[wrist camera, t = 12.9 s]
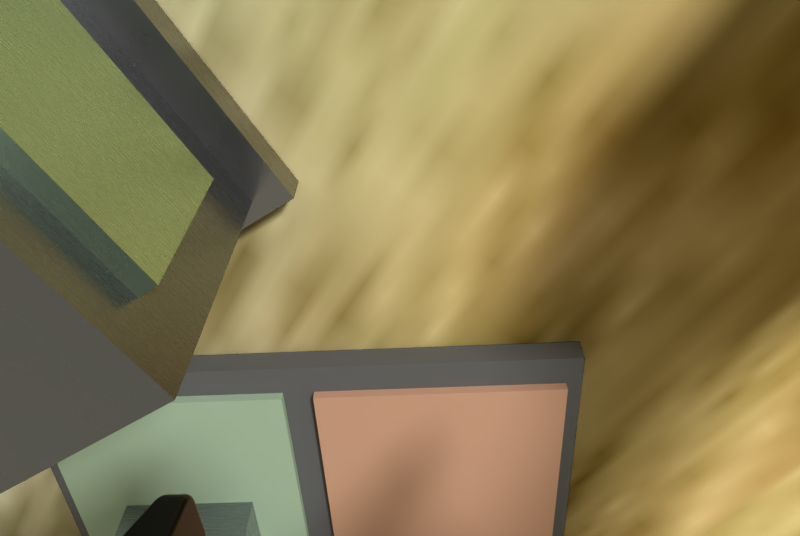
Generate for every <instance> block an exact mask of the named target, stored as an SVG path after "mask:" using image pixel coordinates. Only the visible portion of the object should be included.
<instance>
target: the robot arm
mask: <svg viewBox="0 0 800 536" xmlns="http://www.w3.org/2000/svg"><path fill="white" fill-rule="evenodd" d="M123 536H206V534H205V530H204V527H203V524H202V521H201V518H200V515H199V512H198V509H197V507H196V504H195V501H194V499H193V497H192V496H190V495H189V494H167V495H162V496H160V497H159V498H157V499H156V500H155V501H154V502H153V503H152V504H151V505H150V506H149V507H148V509H147V510H146V511H145V512H144V513H143V514H142V515H141V516H140V517H139V518H138V519H137V520H136V522H135V523H134V524H133V525H132V526H131V527H130V528H129V529H128V530H127V531H126V532H125V534H124V535H123Z"/></svg>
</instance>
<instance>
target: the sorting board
mask: <svg viewBox="0 0 800 536" xmlns="http://www.w3.org/2000/svg"><path fill="white" fill-rule="evenodd" d="M584 362H585V356H584V353H583V351H582V348H581V345H580V342H559V343H531V344H503V345H475V346H448V347H420V348H392V349H364V350H337V351H309V352H281V353H254V354H226V355H198V356H192V358H191V360H190V363H189V366H188V368H187V371H186V373H185V376H184V378H183V381H182V384H181V386H180V389H179V391H178V394H177V396H176V399H175V400H174V401H172V402H170V403H169V404H167V405H165V406H163V407H161V408H159V409H157V410H156V411H154V412H152V413H150V414H148V415H146V416H144V417H142V418H141V419H139V420H137V421H135V422H133V423H131V424H129V425H127V426H126V427H124V428H122V429H120V430H118V431H116V432H114V433H113V434H111V435H109V436H107V437H105V438H103V439H101V440H99V441H98V442H96V443H94V444H92V445H90V446H88V447H86V448H84V449H83V450H81V451H79V452H77V453H75V454H73V455H71V456H70V457H68V458H66V459H64V460H62V461H60V462H58V463H56V464H55V465H53V466H51V469H52V471H53V473H54V475H55V478H56V480H57V482H58V484H59V486H60V488H61V491H62V493H63V495H64V497H65V499H66V502H67V504H68V506H69V508H70V510H71V513H72V515H73V517H74V519H75V521H76V524H77V526H78V528H79V530H80V532H81V535H82V536H115V534H116V531H117V529H118V526H119V524H120V521H121V519H122V516H123V514H124V511H125V509H126V506H133V505H151V504H152V503H153V502H154V501H155V500H156V499H157V498H159V497H160V496H162V495H167V494H189V495H190V496H192V497H193V499H194V501H195V504H198V503H231V502H253V506H254V510H255V514H256V518H257V522H258V526H259V530H260V534H261V536H564V528H565V519H566V511H567V503H568V495H569V486H570V478H571V470H572V462H573V453H574V445H575V437H576V429H577V420H578V412H579V404H580V395H581V387H582V379H583V371H584Z"/></svg>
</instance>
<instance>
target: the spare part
mask: <svg viewBox="0 0 800 536" xmlns="http://www.w3.org/2000/svg"><path fill="white" fill-rule="evenodd" d="M149 506H150V505H133V506H126V509H125V511H124V514H123V516H122V519H121V521H120V524H119V526H118V529H117V531H116V534H115V536H123V535H124V534H125V532H126V531H127V530H128V529H129V528H130V527H131V526H132V525H133V524H134V523H135V522H136V520H137V519H138V518H139V517H140V516H141V515H142V514H143V513H144V512H145V511H146V510H147V509H148V507H149ZM196 507H197V509H198V512H199V515H200V518H201V521H202V524H203V527H204V530H205V534H206V536H261V534H260V530H259V526H258V522H257V518H256V514H255V510H254V506H253V502H231V503H198V504H196Z"/></svg>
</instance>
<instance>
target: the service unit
mask: <svg viewBox="0 0 800 536" xmlns="http://www.w3.org/2000/svg"><path fill="white" fill-rule="evenodd" d="M297 185H298V180H297V179H296V178H295V177H294V175H293V174H292V173H291V172H290V170H289V169H288V168H287V167H286V165H285V164H284V163H283V162H282V160H281V159H280V158H279V156H278V155H277V154H276V153H275V151H274V150H273V149H272V148H271V146H270V145H269V144H268V143H267V141H266V140H265V139H264V138H263V136H262V135H261V134H260V132H259V131H258V130H257V129H256V127H255V126H254V125H253V124H252V122H251V121H250V120H249V119H248V117H247V116H246V115H245V114H244V112H243V111H242V110H241V109H240V107H239V106H238V105H237V103H236V102H235V101H234V100H233V98H232V97H231V96H230V95H229V93H228V92H227V91H226V90H225V88H224V87H223V86H222V85H221V83H220V82H219V81H218V79H217V78H216V77H215V76H214V74H213V73H212V72H211V71H210V69H209V68H208V67H207V66H206V64H205V63H204V62H203V61H202V59H201V58H200V57H199V55H198V54H197V53H196V52H195V50H194V49H193V48H192V47H191V45H190V44H189V43H188V42H187V40H186V39H185V38H184V37H183V35H182V34H181V33H180V32H179V30H178V29H177V28H176V26H175V25H174V24H173V23H172V21H171V20H170V19H169V18H168V16H167V15H166V14H165V13H164V11H163V10H162V9H161V8H160V6H159V5H158V4H157V2H156V1H155V0H0V493H2V492H4V491H6V490H8V489H10V488H12V487H13V486H15V485H17V484H19V483H21V482H23V481H25V480H27V479H28V478H30V477H32V476H34V475H36V474H38V473H40V472H41V471H43V470H45V469H47V468H49V467H51V466H53V465H55V464H56V463H58V462H60V461H62V460H64V459H66V458H68V457H70V456H71V455H73V454H75V453H77V452H79V451H81V450H83V449H84V448H86V447H88V446H90V445H92V444H94V443H96V442H98V441H99V440H101V439H103V438H105V437H107V436H109V435H111V434H113V433H114V432H116V431H118V430H120V429H122V428H124V427H126V426H127V425H129V424H131V423H133V422H135V421H137V420H139V419H141V418H142V417H144V416H146V415H148V414H150V413H152V412H154V411H156V410H157V409H159V408H161V407H163V406H165V405H167V404H169V403H170V402H172V401H174V400H175V399H176V396H177V394H178V391H179V389H180V386H181V384H182V381H183V378H184V376H185V373H186V371H187V368H188V366H189V363H190V360H191V358H192V355H193V353H194V350H195V348H196V345H197V342H198V340H199V337H200V335H201V332H202V330H203V327H204V325H205V322H206V319H207V317H208V314H209V312H210V309H211V307H212V304H213V301H214V299H215V296H216V294H217V291H218V289H219V286H220V283H221V281H222V278H223V276H224V273H225V271H226V268H227V265H228V263H229V260H230V258H231V255H232V253H233V250H234V247H235V245H236V242H237V240H238V237H239V235H240V232H241V230H242V229H244V228H246V227H247V226H249V225H250V224H252V223H254V222H255V221H257V220H259V219H260V218H262V217H264V216H265V215H267V214H269V213H270V212H272V211H274V210H275V209H277V208H278V207H280V206H282V205H283V204H285V203H287V202H288V201H290V200H292V199H293V198H294V196H295V192H296V189H297Z"/></svg>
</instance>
